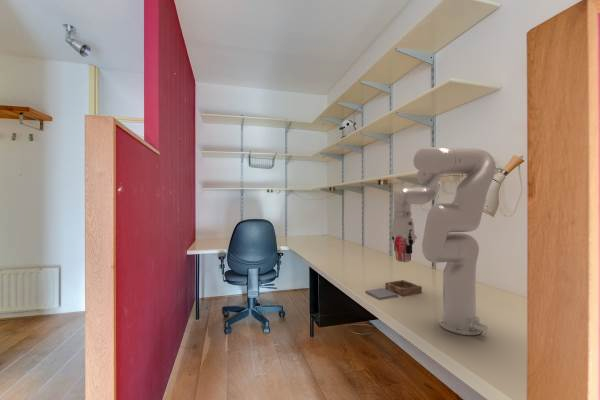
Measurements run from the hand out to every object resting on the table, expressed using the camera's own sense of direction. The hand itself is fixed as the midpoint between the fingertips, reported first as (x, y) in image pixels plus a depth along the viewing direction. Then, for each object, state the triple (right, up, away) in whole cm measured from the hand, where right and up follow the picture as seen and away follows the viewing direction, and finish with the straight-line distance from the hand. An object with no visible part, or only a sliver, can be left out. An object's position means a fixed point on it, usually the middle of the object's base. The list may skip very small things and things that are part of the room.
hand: (403, 251), depth 127 cm
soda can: (0, -5, 0) cm, 5 cm away
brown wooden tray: (0, -19, 0) cm, 19 cm away
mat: (-12, -19, -5) cm, 23 cm away
